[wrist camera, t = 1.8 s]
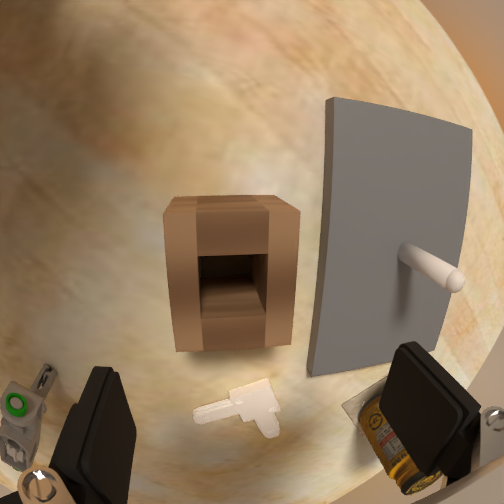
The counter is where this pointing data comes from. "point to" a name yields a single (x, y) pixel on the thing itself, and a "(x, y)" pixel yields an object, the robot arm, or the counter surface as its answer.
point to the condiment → (386, 440)
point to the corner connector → (246, 407)
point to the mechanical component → (23, 420)
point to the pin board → (387, 233)
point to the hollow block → (231, 287)
